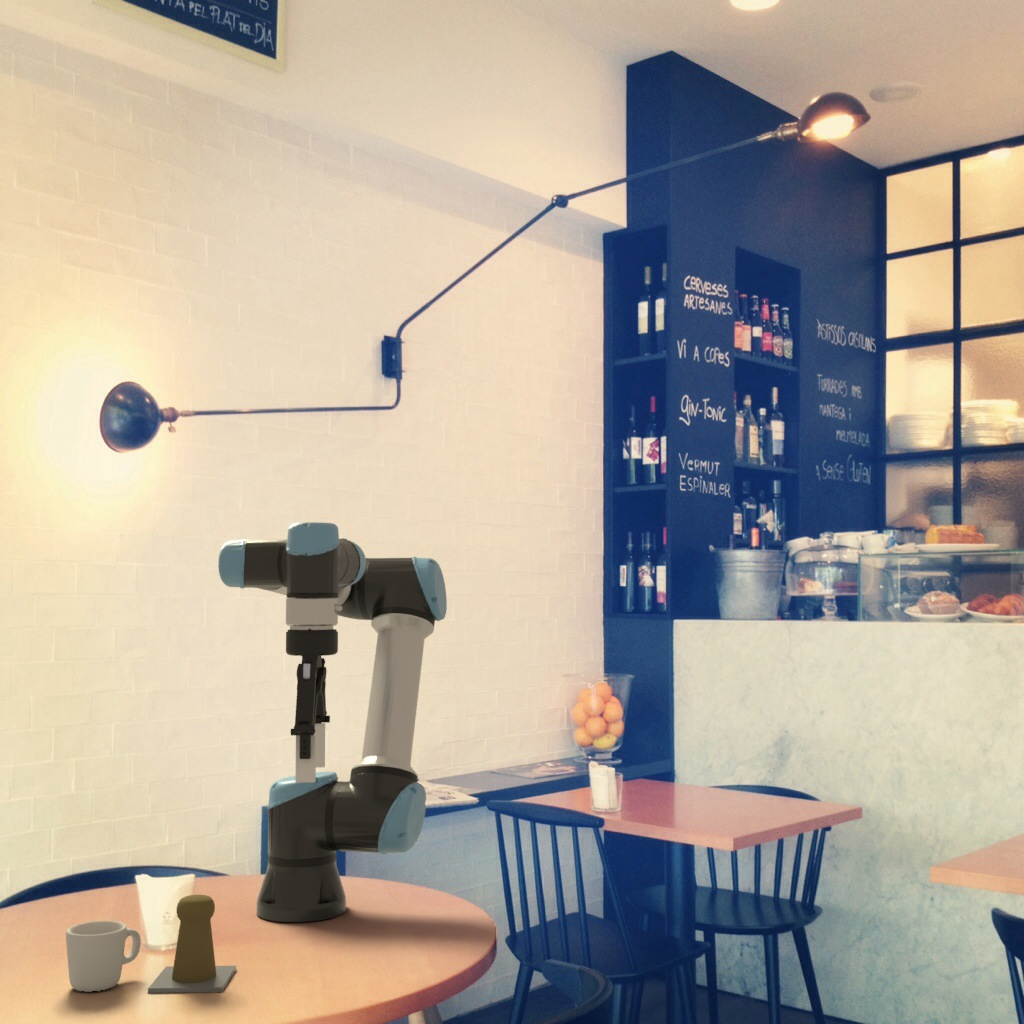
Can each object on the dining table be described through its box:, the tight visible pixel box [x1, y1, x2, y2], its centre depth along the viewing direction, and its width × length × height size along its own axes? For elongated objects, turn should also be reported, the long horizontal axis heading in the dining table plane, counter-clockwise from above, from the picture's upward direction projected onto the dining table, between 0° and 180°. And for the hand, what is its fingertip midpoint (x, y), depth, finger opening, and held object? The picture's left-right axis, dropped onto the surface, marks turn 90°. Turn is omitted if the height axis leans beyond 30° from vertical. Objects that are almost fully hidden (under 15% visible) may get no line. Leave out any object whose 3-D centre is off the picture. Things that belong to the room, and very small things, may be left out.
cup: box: [65, 920, 141, 993], centre depth 167 cm, size 11×8×8 cm
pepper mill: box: [172, 894, 217, 983], centre depth 169 cm, size 6×6×11 cm
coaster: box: [147, 965, 237, 994], centre depth 168 cm, size 10×10×1 cm
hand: (310, 774), depth 175 cm, fingers open, 13 cm apart
